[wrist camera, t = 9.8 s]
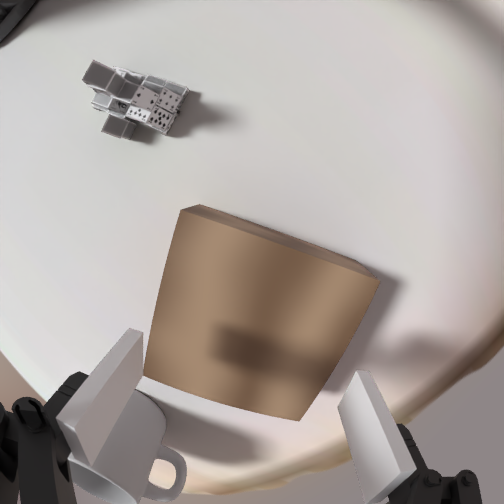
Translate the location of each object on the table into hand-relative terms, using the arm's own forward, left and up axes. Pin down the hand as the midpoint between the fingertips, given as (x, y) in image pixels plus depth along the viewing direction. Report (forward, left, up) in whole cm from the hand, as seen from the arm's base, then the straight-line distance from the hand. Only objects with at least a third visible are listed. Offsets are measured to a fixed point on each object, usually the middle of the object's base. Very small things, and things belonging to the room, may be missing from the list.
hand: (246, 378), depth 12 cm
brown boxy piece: (0, 0, -9) cm, 9 cm away
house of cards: (-13, +12, -9) cm, 20 cm away
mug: (-9, -16, -9) cm, 20 cm away
